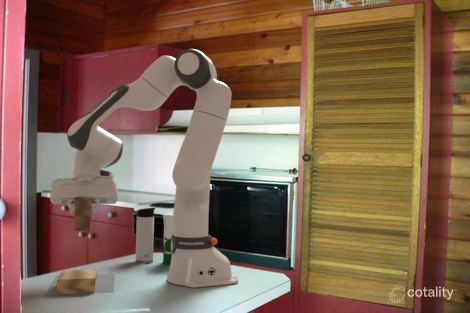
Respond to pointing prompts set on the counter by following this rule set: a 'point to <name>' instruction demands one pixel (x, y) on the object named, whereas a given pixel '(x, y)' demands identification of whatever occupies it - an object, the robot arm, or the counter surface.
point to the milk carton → (168, 237)
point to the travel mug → (145, 235)
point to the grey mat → (103, 285)
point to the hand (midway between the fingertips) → (82, 212)
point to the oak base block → (77, 281)
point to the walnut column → (82, 214)
